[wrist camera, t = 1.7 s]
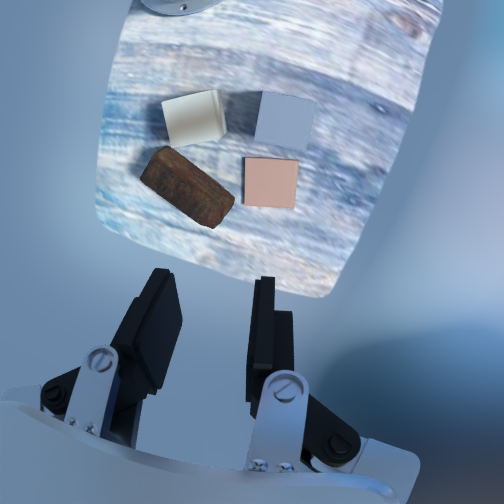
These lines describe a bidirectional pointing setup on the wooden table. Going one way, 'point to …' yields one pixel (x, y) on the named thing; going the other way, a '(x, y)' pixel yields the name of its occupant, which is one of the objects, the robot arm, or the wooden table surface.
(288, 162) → the tile
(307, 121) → the slate block
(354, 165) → the wooden table surface
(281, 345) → the robot arm
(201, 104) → the pale grey cube
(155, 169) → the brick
